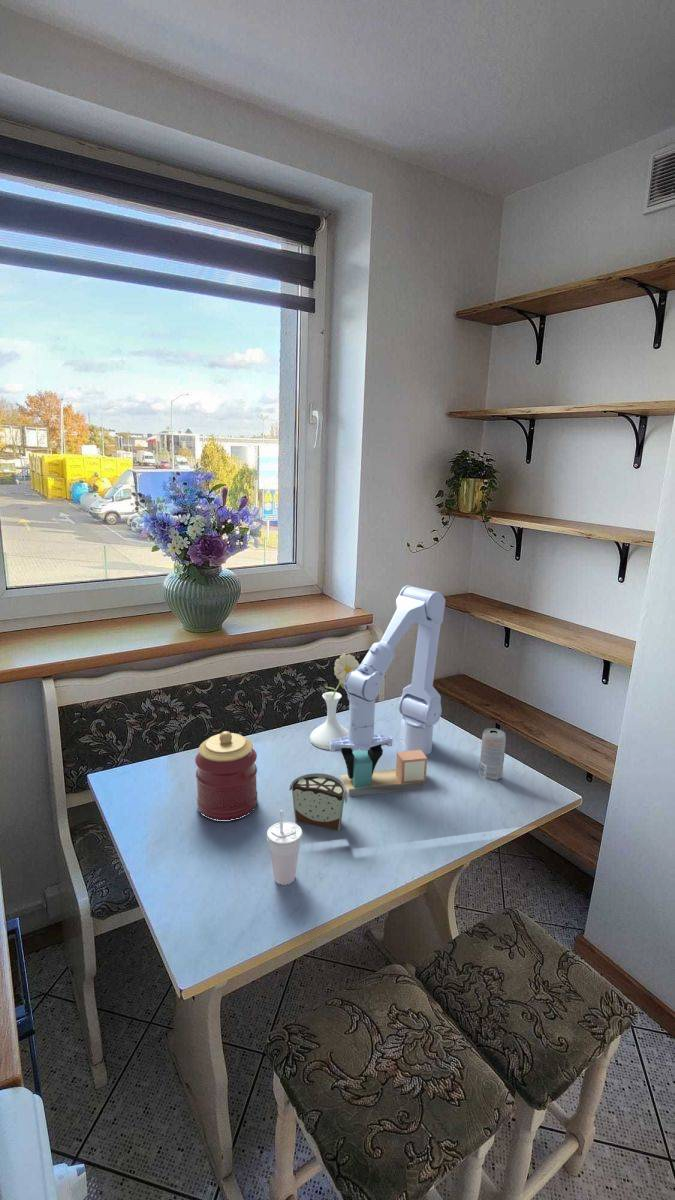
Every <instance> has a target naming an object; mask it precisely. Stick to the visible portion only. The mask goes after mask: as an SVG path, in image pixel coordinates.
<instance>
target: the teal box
mask: <svg viewBox="0 0 675 1200" xmlns="http://www.w3.org/2000/svg"><path fill="white" fill-rule="evenodd" d="M352 751H353V755H354V761H353V778H352V779H351V781H352V783H353V785H354V788H358V787H367V786H372V761H371V759H370V757H369V755H368V751H367V750H365V751H362V750H360V749H358V750H352Z"/></svg>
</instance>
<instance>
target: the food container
mask: <svg viewBox="0 0 675 1200" xmlns="http://www.w3.org/2000/svg"><path fill="white" fill-rule="evenodd" d="M289 791H291V793H292V804H293V811H294V812H293V814H294V821H295V822H299V823H303V824H308V825H312V826H316V827H321V828H325V829H329V830H333V831H334V830H335V831H337V832H339V831H340V829H341V826H342V817H343V810H344V804H347V802H348V799H349V798H348V797H349V796H348V792H347V790H346V788H345V785H344V783H343V781H342V779H339V778H338V777H336V776H335V775H332V774H327V773H321V772H313V773H312V772H311V773H306V774H303V775H300V776H297V778H295V779H293V780H292V781H291V784H290V785H289Z"/></svg>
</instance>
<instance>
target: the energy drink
mask: <svg viewBox="0 0 675 1200" xmlns="http://www.w3.org/2000/svg"><path fill="white" fill-rule="evenodd" d="M481 738H482V739H481V749H480V761H479V769H478V770H479V771H478V774H479V776H480V777H481V778H483V779H485V780H488V781H498V782H499V783H501V782H502V781H503V773H504V771H503V770H504V763H505V762H504V761H505V752H506V744H507V743H506V740H507V736H506V733H505V731H504V730H501V729H498V728H495V727H492V728H491V727H490V728H485V729H484V730H483V733H482V736H481Z"/></svg>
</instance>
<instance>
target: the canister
mask: <svg viewBox="0 0 675 1200" xmlns="http://www.w3.org/2000/svg"><path fill="white" fill-rule="evenodd" d="M257 757H258V753H257V751H256V750H255V748H254V746H253V742H252V740H250V739H249V738H247V737H246V736H243V735H241V734H239V733H234V732H230V731H227V730H225V731H221V733H217V734H215V735H211V736H210V737H208V738H207V739H205V740H204V741H202V743H200V745H199V747H198V753H197V754H196V756H195V758H194V759H195V760H194V762H195V765H196V767H197V769H196V770H195V777H196V786H197V790H196V791H197V793H196V794H197V796H196V805H197V808H198V811H199V810H200V812H201V813H202V814H204V815H205V816H207V817H209V818H212V819H216V820H217V819H218V820H231V819H236V818H240V817H242V816H244V815H247V814H248V813H250V812H251V811H252V810H253V809H254V808H255V809H256V807H257V802H258V789H257V773H258V769H257V768H258V767H257V765H256V763H255V762H256V761H257ZM255 806H256V807H255ZM255 809H254V810H255ZM254 810H253V811H254ZM253 811H252V812H253ZM200 812H199V813H200ZM252 812H251V813H252ZM201 813H200V814H201ZM251 813H250V814H251ZM247 816H248V815H247Z"/></svg>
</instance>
